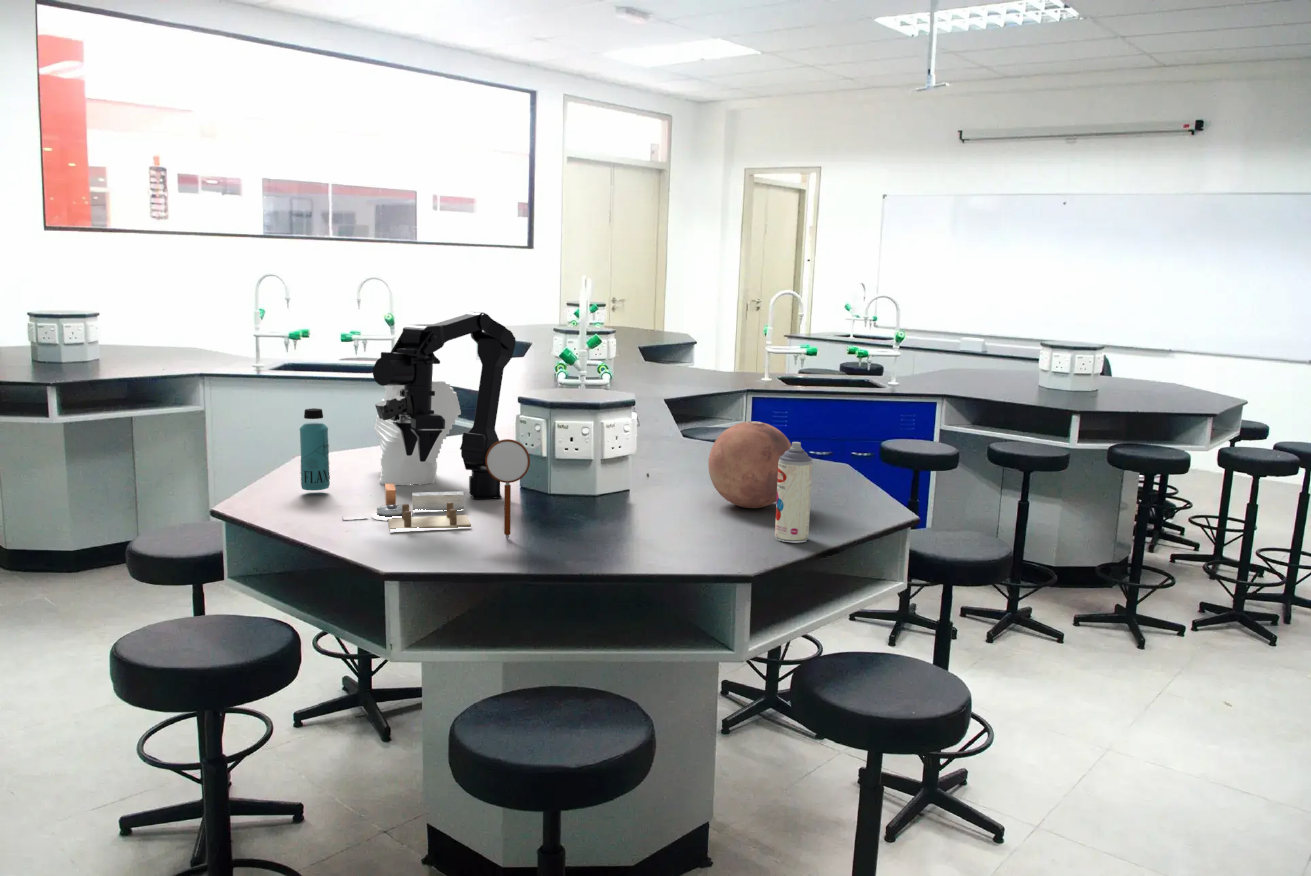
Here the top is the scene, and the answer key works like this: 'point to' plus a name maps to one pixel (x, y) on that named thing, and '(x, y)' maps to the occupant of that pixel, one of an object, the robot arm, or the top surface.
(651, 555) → the top surface
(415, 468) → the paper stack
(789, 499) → the aerosol can
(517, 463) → the magnifying glass
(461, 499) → the bar
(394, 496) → the wooden building block
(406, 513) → the rack
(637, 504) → the top surface
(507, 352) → the robot arm
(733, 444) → the planet model
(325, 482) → the beverage bottle
